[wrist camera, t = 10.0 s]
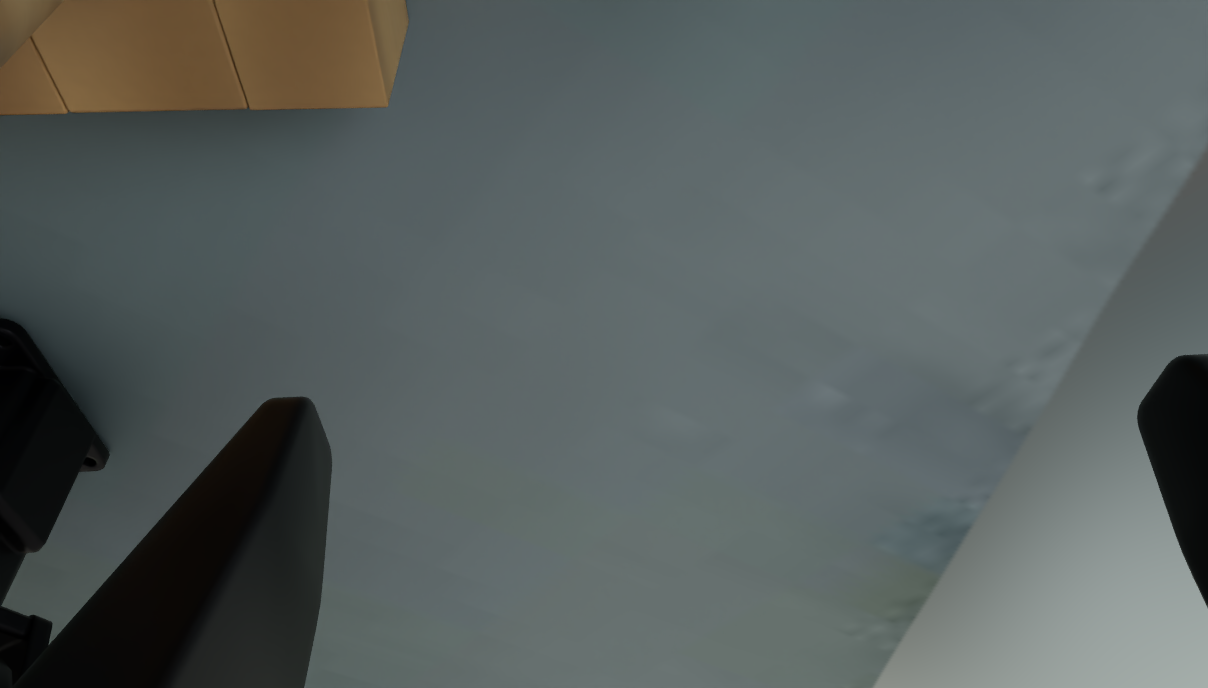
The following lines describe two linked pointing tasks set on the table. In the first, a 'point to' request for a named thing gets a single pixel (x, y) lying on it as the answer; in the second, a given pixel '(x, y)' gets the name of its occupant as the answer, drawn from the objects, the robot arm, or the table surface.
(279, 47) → the rack
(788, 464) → the table surface
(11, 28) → the beech dowel
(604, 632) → the table surface
